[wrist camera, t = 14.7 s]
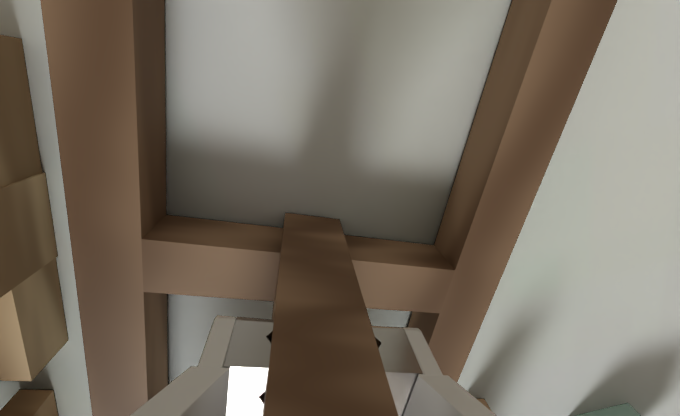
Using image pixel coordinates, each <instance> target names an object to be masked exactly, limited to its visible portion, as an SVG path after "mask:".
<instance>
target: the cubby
mask: <svg viewBox="0 0 680 416" xmlns="http://www.w3.org/2000/svg"><path fill="white" fill-rule="evenodd" d="M477 400H478V401H480V402H481V403H482V404H483V405H484V406H486V407H487V408H488V409H489V410H490V408H489V406H488V404H487V403H486V401H485V399H477ZM490 411H491V410H490ZM0 416H58V412H57V407H56V402H55V397H54V391H53V390H19V391H18V392H17V393H16V394H15V395H14V396H13V397H12V398H11V399H10V401H9V402H8V403H7V404H6V405H5V406H4V407H3V408H2V409H1V410H0Z"/></svg>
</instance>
